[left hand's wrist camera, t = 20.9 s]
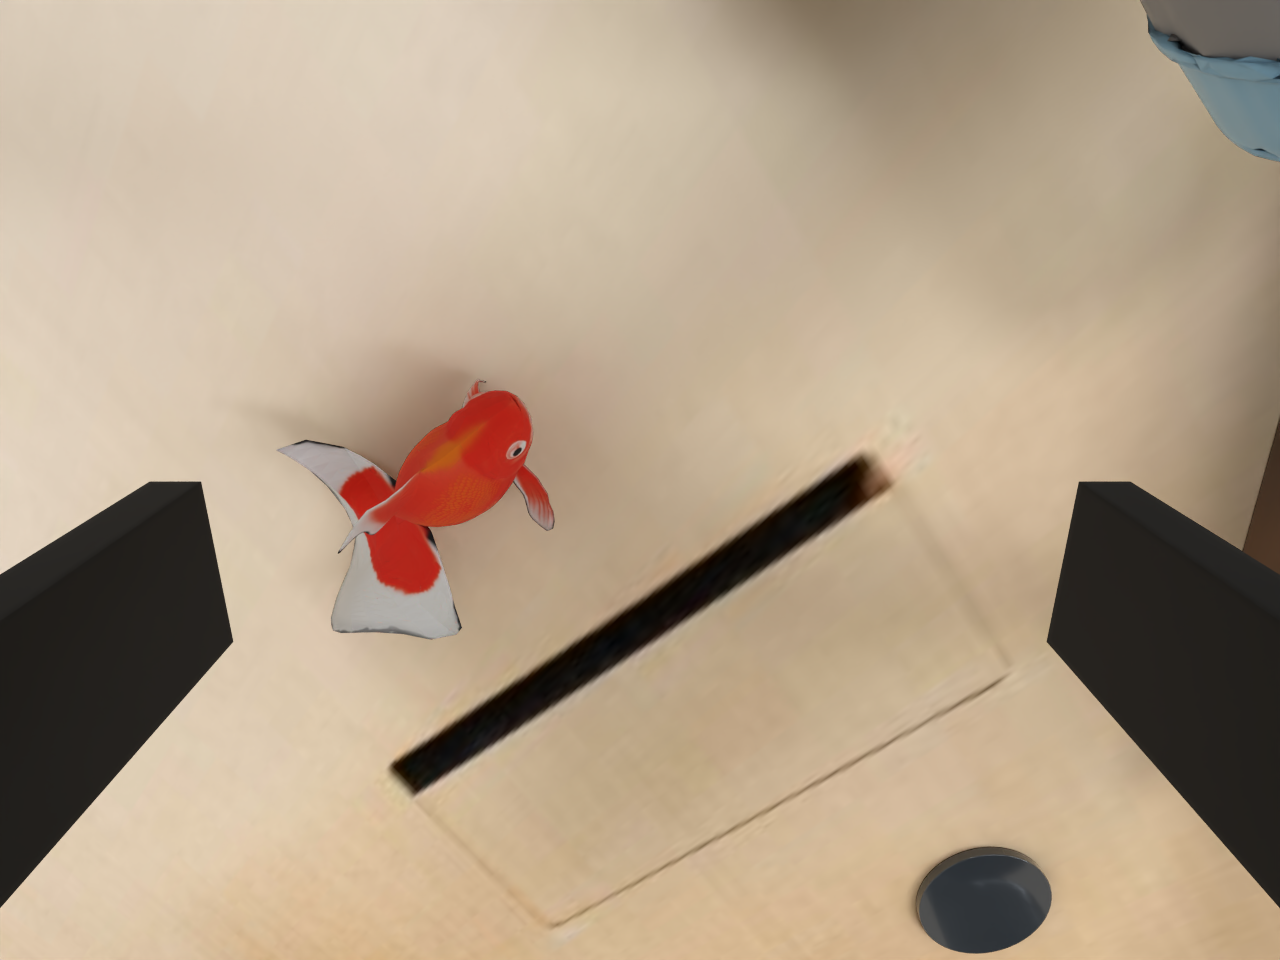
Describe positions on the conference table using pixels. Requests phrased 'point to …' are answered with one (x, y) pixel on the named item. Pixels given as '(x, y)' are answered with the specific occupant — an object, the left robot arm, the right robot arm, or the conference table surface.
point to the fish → (423, 511)
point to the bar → (1267, 515)
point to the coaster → (983, 900)
